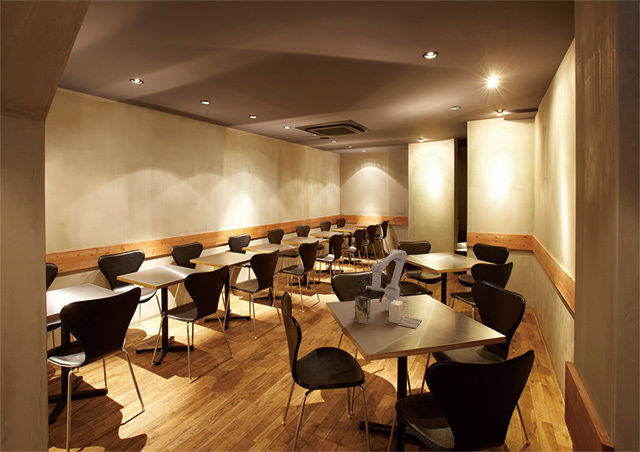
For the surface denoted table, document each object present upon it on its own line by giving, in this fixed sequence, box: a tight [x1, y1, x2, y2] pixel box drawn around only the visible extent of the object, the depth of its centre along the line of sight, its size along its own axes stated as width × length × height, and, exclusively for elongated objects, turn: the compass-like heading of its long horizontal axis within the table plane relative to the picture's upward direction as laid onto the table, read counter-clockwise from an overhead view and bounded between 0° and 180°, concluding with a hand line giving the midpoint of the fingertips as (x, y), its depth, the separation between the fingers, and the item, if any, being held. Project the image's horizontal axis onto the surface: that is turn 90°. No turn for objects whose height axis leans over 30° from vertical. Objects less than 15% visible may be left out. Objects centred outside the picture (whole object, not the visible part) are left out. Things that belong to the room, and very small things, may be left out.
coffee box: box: [354, 295, 372, 325], centre depth 219 cm, size 9×6×16 cm
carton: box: [388, 300, 404, 324], centre depth 222 cm, size 9×6×12 cm
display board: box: [397, 316, 423, 330], centre depth 218 cm, size 16×12×1 cm
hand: (375, 300), depth 229 cm, fingers open, 7 cm apart
